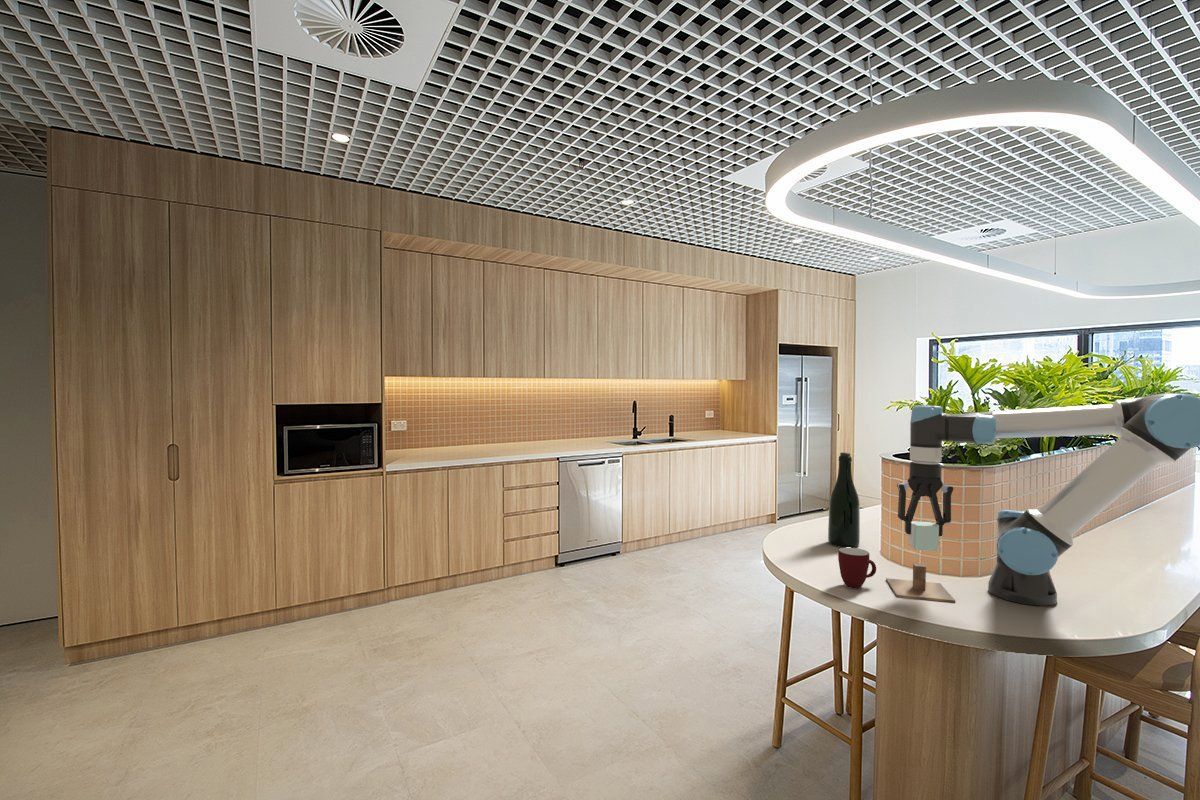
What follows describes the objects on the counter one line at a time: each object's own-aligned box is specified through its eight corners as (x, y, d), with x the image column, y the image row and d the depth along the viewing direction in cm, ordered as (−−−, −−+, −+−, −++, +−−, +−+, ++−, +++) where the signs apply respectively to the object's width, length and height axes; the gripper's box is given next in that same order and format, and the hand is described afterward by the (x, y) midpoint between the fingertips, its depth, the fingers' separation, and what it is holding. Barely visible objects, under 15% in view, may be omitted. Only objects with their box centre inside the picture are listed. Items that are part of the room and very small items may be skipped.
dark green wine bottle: (822, 540, 213) (824, 450, 212) (849, 540, 214) (851, 450, 213) (837, 548, 202) (838, 454, 201) (865, 548, 203) (867, 454, 203)
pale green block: (930, 545, 161) (931, 522, 161) (936, 551, 156) (937, 526, 156) (910, 544, 162) (910, 521, 162) (915, 549, 157) (916, 525, 157)
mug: (863, 580, 169) (864, 546, 169) (883, 589, 162) (883, 554, 161) (831, 582, 167) (832, 548, 167) (849, 592, 159) (850, 556, 159)
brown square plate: (939, 585, 166) (940, 560, 166) (955, 602, 152) (956, 575, 152) (886, 580, 170) (886, 555, 169) (896, 596, 156) (897, 570, 156)
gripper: (957, 461, 160) (955, 545, 160) (885, 459, 164) (883, 540, 165) (968, 465, 152) (965, 553, 153) (892, 462, 157) (890, 548, 157)
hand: (923, 546), depth 159 cm, fingers closed on pale green block, 5 cm apart
